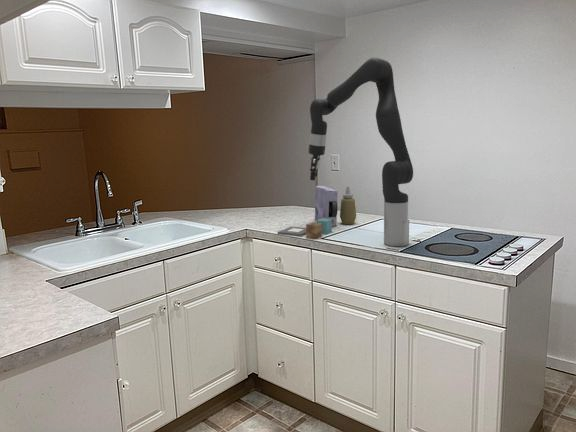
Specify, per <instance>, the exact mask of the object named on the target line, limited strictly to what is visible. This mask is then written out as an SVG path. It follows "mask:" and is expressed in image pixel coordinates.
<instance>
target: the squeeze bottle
mask: <svg viewBox="0 0 576 432" xmlns="http://www.w3.org/2000/svg"><path fill="white" fill-rule="evenodd" d="M353 197H354V195H353V193H351V190H350V187H349V186H346V188H345V193H344V194H342V199H340V200H341V201H340V208H339V209H340V211H339V217H340V221H341V223H342V224H343V225H353V224H355V222H356V219H357V211H356V209H357V208H356V201H355V199H354V198H353Z"/></svg>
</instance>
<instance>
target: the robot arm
mask: <svg viewBox="0 0 576 432" xmlns="http://www.w3.org/2000/svg"><path fill="white" fill-rule="evenodd" d="M369 82H372V83H375V85H376V87H377V88H376V89H377V94H378V100H377V101H378V102H377V106H376V110H375V111H376V112H375V119H376V120H375V121H376V126H377V130H378V133H379V134H380V137H381V138H382V139H383V140H384V142H385V143H386V144H387V145H388V146H389V148H390V149H391V151H392V153H393V157H394V160H392V161H387V162H385V163H384V164H383V166H382V172H381V181H382V183H381V185H382V195H383V200H384V201H383V202H384V203H383V211H384V212H383V244H384V245H386V246H391V247H406V246H407V245H408V244H409V243H410V219H409V217H408V216H409V195H408V194H407V193H406V192H402V191H400V186H399V185H403V184H404V185H405V184H408V183H410V182H412V180H413V178H414V168H413V163H412V160H411V157H410V154H409V151H408V147H407V145H406V141H405V136H404V132H403V126H402V121H401V115H400V110H399V106H398V101H397V96H396V92H395V91H396V90H395V81H394V72H393V68H392V64H391V63H390V62H389V61H387V60H385V59H382V58H380V57H371V58H368V59H367V60H366V61H365V62H364V63H363V64H361V66H359V67H358V69H357V70H356V71H355V72H354V73H351V75H350V77H348V78H346V80H344V82H342V83H340V84H339V85H338V86H336V87H335V88H333V89H332V90H330V91H329V92H328V93H327V94H326V95H327V97H326V98H325V99H324V98H315V99H314V100H312V102H311V104H310V106H309V114H310V121H311V127H310V128H311V129H310V135H309V143H308V150H307V151H308V154H309V155H312V157H311V158H310V169H309V171H310V179H309V180H310V181H315V180H316V178H317V176H318V172H319V170H318V169H319V168H320V164H321V163H320V162H321V156H324V155H325V154H326V144H327V132H328V123H327V122H326V121H325V120H324V118H323V117H324V116H327V115H330V114H332V113H333V112H334V111H335V110H336V109H337V108H338V106H341V105H342V104H344V103H345V102H347V101H348V100H349V99H351V98H352V97H353V95H354V94H355V92H356V90H357V89H358V88H359V87H361V86H362V85H364V84H366V83H369Z"/></svg>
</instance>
